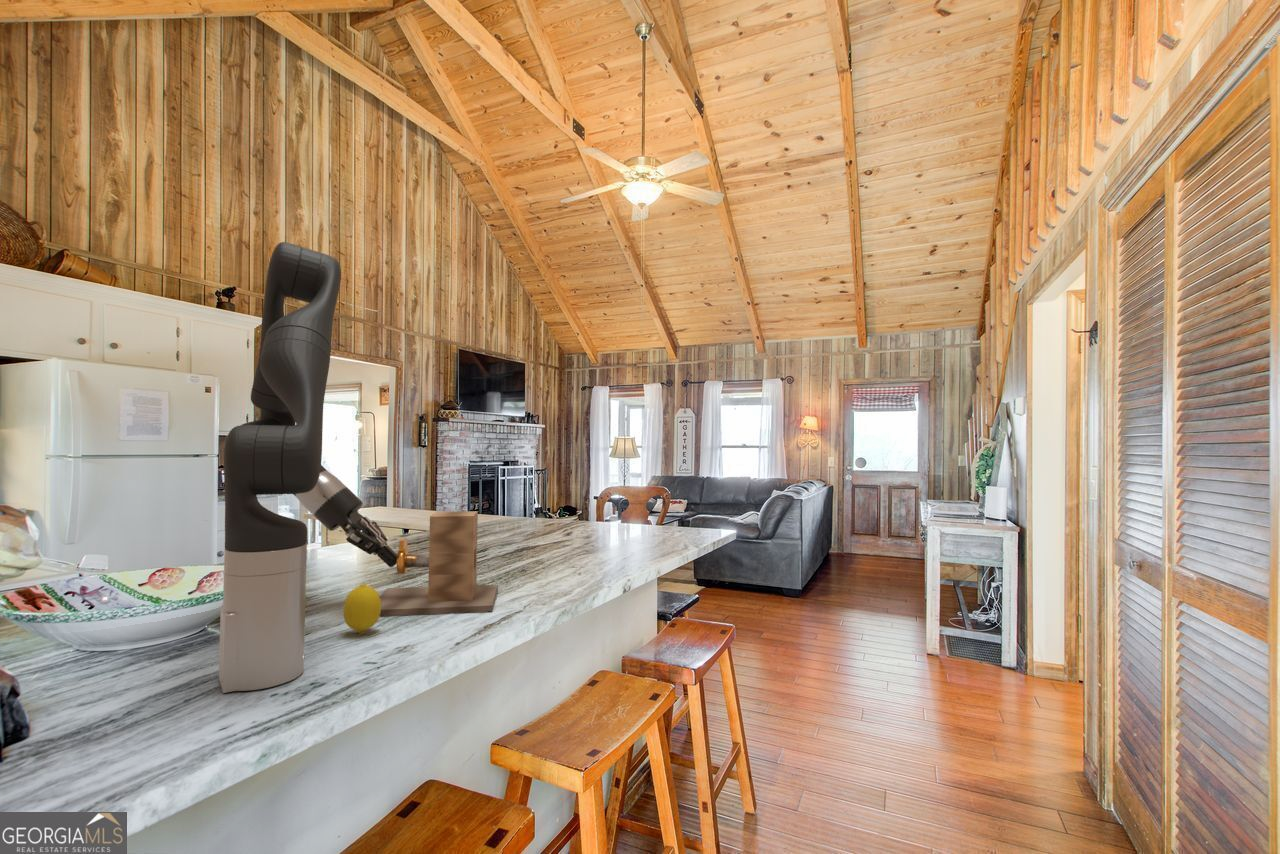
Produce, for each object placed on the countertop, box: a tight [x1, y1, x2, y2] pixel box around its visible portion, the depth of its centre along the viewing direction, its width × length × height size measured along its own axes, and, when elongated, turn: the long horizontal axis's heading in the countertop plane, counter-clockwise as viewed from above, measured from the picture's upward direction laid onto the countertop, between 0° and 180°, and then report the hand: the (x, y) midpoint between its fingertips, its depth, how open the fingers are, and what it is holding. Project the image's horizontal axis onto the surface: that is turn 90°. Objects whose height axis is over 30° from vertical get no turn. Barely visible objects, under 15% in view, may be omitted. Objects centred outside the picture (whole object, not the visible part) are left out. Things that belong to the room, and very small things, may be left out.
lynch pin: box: [396, 537, 429, 575], centre depth 114 cm, size 12×5×7 cm, turn 100°
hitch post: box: [379, 510, 499, 618], centre depth 114 cm, size 22×16×17 cm
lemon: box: [343, 583, 381, 634], centre depth 95 cm, size 6×6×8 cm
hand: (396, 563), depth 112 cm, fingers closed
